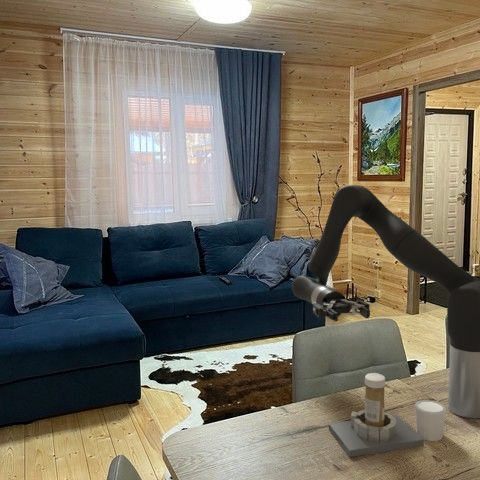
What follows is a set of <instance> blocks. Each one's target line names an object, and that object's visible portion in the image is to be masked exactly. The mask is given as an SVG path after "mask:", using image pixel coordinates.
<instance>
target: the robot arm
mask: <svg viewBox="0 0 480 480" xmlns="http://www.w3.org/2000/svg"><path fill="white" fill-rule="evenodd" d="M355 217H356V218H358V219H360V220H362V222H364V223H366V225H368V226H369V227H370V228H371V229H373V231H374V232H375V233H376V234H377V235H378V237H379V239H380V241H381V242H382V244H383V246H384V248H385V249H386V250H387V251H388V252H389V253H390V255H391V256H392V257H394V258H395V259H396V260H397V261H398V262H400V263H401V264H402V265H403V266H404V267H406V268H407V269H409V270H410V271H412V272H414V273H416V274H418V275H420V276H423V277H424V278H426V279H429V280H431V281H433V282H434V283H435V284H437V285H439V286H440V287H442V288H443V289H444V290H445V291H446V292H447V293H448V294H449V295H448V299H447V304H446V305H447V306H446V307H447V309H446V310H447V311H446V313H447V314H446V316H447V317H446V322H447V325H446V326H447V328H446V329H447V334H448V337H449V371H448V372H449V373H448V396H447V397H448V398H447V403H448V404H447V406H448V408H447V409H448V410H449V411H450V412H451V413H453V414H454V415H457V416H460V417H463V418H467V419H480V279H478V278H477V277H475V276H474V275H472V274H471V273H469V272H468V271H466V270H465V269H464V268H462V267H461V266H459V265H458V264H457V263H455V262H454V261H453V260H452V259H451V258H449V257H448V256H447V255H446V254H445V253H443V252H442V251H441V250H440V249H439V248H438V247H436V246H435V245H434V244H433V243H431V241H430V240H429V239H428V238H426V237H425V236H423V235H422V234H421V233H420V232H418V231H417V230H416V229H415V228H413V227H412V226H411V225H409V224H408V223H407V222H406V221H405V220H403V219H402V218H400V217H399V216H397V215H396V214H395V213H394V212H393V211H391V210H390V209H389V208H388V207H386V206H385V204H383V203H382V202H381V200H379V198H378V197H377V196H376V195H375V194H374V193H373V192H372V191H371V190H370V189H368V188H367V187H365V186H363V185H353V184H350V185H343V186H342V187H340V188H339V189H338V190H337V191H336V193H335V195H334V197H333V200H332V203H331V206H330V210H329V213H328V217H327V219H326V222H325V226H324V229H323V232H322V234H321V236H320V239H319V241H318V244H317V246H316V247H315V250H314V252H313V254H312V256H311V258H310V260H309V262H308V265H307V268H308V270H309V272H310V273H311V274H313V275H315V276H316V277H317V278H313V277H309V276H306V275H301V274H300V275H299V276H296V277H295V278H294V279H293V281H292V283H291V291H292V293H293V295H294V296H295V297H296V298H298V299H301V300H303V301H306V302H307V303H310V304H311V305H312V313H313V314H314V315H315V316H316V317H317V318H319V319H323V318H324V317H325V318H326V319H330V320H332V321H333V322H338V320H339V318H338V317H340V316H341V315H349V316H356V315H360V316H362V317H363V318H365V319H370V316H371V310H370V304H371V303H368V302H365V301H363V300H361V299H356V300H355V301H351V300H347V298H346V296H345V294H343V293H342V292H341V291H339V290H337V289H335V288H333V287H332V286H328V285H327V284H328V280H329V279H328V278H329V275H330V273H331V271H332V269H333V267H334V265H335V263H336V262H337V259H338V257H339V254H340V249H341V245H342V238H343V234H344V231H345V229H346V228H347V226H348V224H349V223H350V221H351V220H352V218H355Z"/></svg>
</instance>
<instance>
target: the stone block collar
mask: <svg viewBox="0 0 480 480" xmlns="http://www.w3.org/2000/svg"><path fill="white" fill-rule="evenodd" d="M392 415H393V414H391V413H388V412H386V411H384V426H383V427H373V426H368V425H366V424H365V409H362V410H359V411H358V412H357V411H353V410H352V411H351V414H350V421H351V428H354V432H355V433H356V434H357V436H359V437H360V438H362V439H365V440H367V441H372V442H387V441H391V440H392V439H393V438H395V437H396V419H395V418H394V417H393V416H392Z"/></svg>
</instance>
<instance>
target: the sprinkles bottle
mask: <svg viewBox="0 0 480 480" xmlns="http://www.w3.org/2000/svg"><path fill="white" fill-rule="evenodd" d="M364 385H365V395H364V402H365V403H364V410H365V424H366V425H368V426H373V427H383V426H384V412H385V389H386V388H385V387H386V377H385V376H384V375H383V374H380V373H377V372H370V373H367V374H365V377H364Z"/></svg>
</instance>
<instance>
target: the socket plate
mask: <svg viewBox="0 0 480 480" xmlns="http://www.w3.org/2000/svg"><path fill="white" fill-rule="evenodd" d="M391 415H392V416H393V417H394V418H395V419H396V437H395V438H393V439H392V440H391V441H387V442H372V441H367V440H365V439H362V438H360V437H359V436H357V434H356V433H355V432H354V428H351V420H345V421H338V422H329V423H328V430H329V431H330V433H331V435H332V436H333V437H334V438H335V440H336V441H337V442H338V444H339V445H340V446H341V448H342V449H343V450H344V452H345V453H346V454H347V456H348V457H350V458H352V457H359V456H364V455H371V454H376V453H377V454H378V453H379V454H380V453H384V452H392V451H397V450H406V449H411V448H417V447H424V446H425V439H423V438H422V437H421V436H420V435H419V434H418V433H417V431H416V430H414V429H413V428H412V427H411V426H410V425H409V424H408V423H407V422H406V421H405V420H403V418H401V417H400V416H399V415H398V414H397V413H396V414H391Z"/></svg>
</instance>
